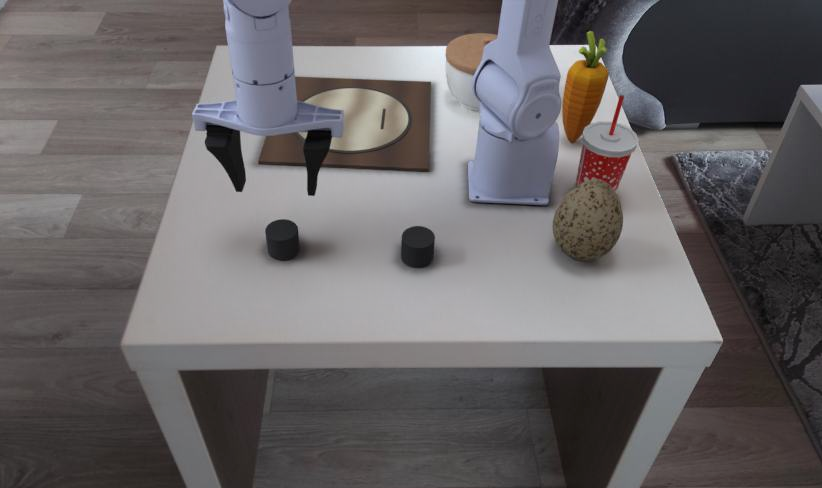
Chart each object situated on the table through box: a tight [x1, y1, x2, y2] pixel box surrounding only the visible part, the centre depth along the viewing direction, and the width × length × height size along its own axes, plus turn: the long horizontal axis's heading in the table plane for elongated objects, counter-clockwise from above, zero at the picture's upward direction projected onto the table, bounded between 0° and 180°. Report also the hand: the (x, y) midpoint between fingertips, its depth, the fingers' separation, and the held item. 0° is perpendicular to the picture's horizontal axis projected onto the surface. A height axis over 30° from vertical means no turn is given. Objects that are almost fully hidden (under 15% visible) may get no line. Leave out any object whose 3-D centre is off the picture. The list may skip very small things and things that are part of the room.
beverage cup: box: [574, 94, 640, 194], centre depth 79 cm, size 6×6×14 cm
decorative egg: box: [552, 179, 624, 262], centre depth 74 cm, size 7×7×10 cm
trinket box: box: [444, 32, 498, 112], centre depth 98 cm, size 11×11×9 cm
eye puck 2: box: [400, 225, 436, 269], centre depth 76 cm, size 4×4×3 cm
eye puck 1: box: [264, 218, 301, 261], centre depth 77 cm, size 4×4×3 cm
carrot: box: [561, 30, 610, 144], centre depth 88 cm, size 5×5×15 cm
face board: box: [257, 76, 432, 173], centre depth 97 cm, size 22×22×1 cm
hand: (276, 188), depth 73 cm, fingers open, 7 cm apart
